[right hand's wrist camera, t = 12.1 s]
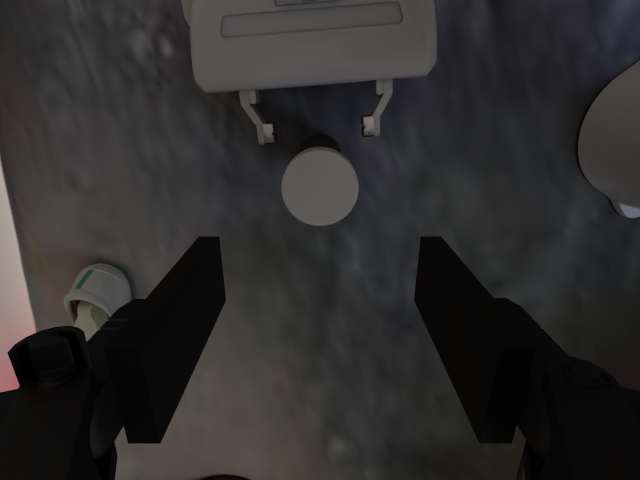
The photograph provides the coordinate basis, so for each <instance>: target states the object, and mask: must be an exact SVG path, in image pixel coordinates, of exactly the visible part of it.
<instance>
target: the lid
mask: <svg viewBox="0 0 640 480" xmlns="http://www.w3.org/2000/svg"><path fill="white" fill-rule="evenodd" d="M358 189H359V187H358V179H357V176H356V173H355V171H354V169H353V167H352V165H351V163H350V162H349V160H348V159H347V158H346V157H345V156H344V155H342V154H341V153H340V152H338V151H336V150H334V149H331V148H327V147H313V148H309V149H306V150H304V151H302V152H300V153H299V154H298V155H296V156H295V157H294V158H293V159H292V160H291V162H290V163H289V165H288V167H287V169H286V171H285V173H284V176H283V179H282V196H283V200H284V202H285V205H286V206H287V208H288V210H289V211H290V212H291V213H292V214H293V215H294V216H295V217H296V218H297V219H299V220H301V221H302V222H305V223H307V224H310V225H316V226H323V225H329V224H333V223H336V222H338V221H340V220H341V219H343V218H344V217H345V216H346V215H347V214H348V213H349V212H350V211H351V210H352V208H353V207H354V205H355V203H356V200H357V196H358Z"/></svg>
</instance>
